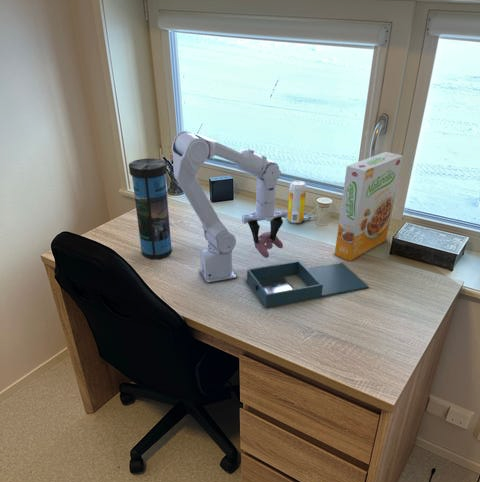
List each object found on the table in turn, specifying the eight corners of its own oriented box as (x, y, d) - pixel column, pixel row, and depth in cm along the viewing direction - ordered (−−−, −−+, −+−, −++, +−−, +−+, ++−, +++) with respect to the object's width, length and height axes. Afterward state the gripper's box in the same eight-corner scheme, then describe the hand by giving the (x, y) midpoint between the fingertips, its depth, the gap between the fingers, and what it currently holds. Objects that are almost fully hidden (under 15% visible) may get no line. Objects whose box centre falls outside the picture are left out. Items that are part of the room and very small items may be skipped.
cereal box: (350, 260, 152) (364, 170, 136) (334, 254, 156) (346, 166, 139) (385, 240, 166) (403, 155, 149) (370, 234, 169) (385, 151, 153)
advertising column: (180, 250, 158) (173, 162, 141) (158, 263, 150) (148, 172, 133) (155, 242, 163) (146, 156, 146) (132, 254, 155) (120, 165, 139)
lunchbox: (263, 308, 129) (264, 295, 127) (245, 281, 141) (245, 269, 139) (368, 287, 138) (370, 275, 136) (342, 264, 150) (343, 252, 148)
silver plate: (270, 304, 131) (270, 303, 131) (254, 282, 141) (255, 282, 141) (300, 298, 133) (300, 297, 133) (282, 277, 143) (282, 277, 143)
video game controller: (274, 249, 155) (267, 229, 153) (284, 247, 152) (278, 227, 150) (257, 260, 148) (249, 239, 146) (268, 258, 145) (260, 237, 143)
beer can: (303, 217, 182) (306, 180, 173) (303, 224, 177) (306, 186, 168) (287, 217, 182) (290, 179, 174) (287, 223, 177) (290, 185, 169)
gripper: (247, 207, 134) (246, 249, 141) (293, 201, 138) (290, 242, 145) (239, 199, 139) (239, 240, 147) (283, 193, 143) (281, 233, 151)
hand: (264, 240), depth 147 cm, fingers closed on video game controller, 5 cm apart
